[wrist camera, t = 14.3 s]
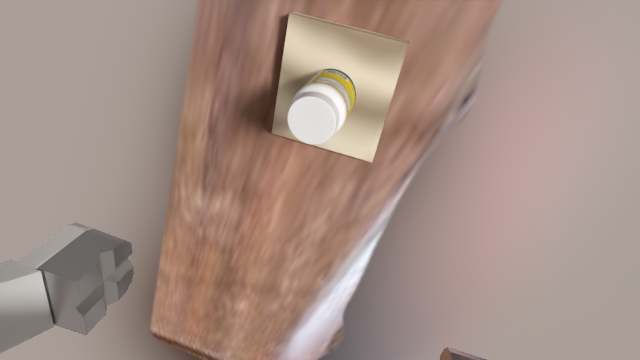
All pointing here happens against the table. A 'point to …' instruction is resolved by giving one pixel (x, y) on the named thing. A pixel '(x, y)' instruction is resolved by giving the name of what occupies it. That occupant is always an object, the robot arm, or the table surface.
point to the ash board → (350, 57)
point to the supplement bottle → (321, 106)
